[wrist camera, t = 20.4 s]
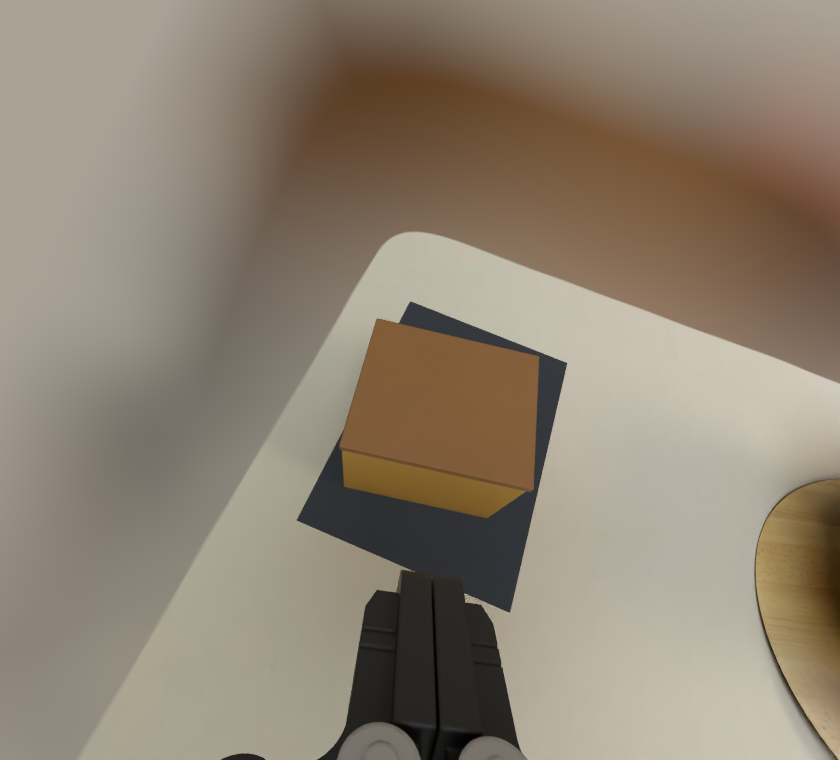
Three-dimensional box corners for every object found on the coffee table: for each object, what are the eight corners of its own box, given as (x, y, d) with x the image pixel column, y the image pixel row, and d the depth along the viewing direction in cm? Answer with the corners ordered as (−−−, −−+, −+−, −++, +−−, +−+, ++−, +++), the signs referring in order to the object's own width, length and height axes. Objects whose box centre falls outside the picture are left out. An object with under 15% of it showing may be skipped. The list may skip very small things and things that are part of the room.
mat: (297, 520, 30) (296, 520, 30) (410, 302, 41) (410, 301, 40) (509, 612, 29) (509, 612, 29) (566, 363, 40) (567, 363, 40)
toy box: (488, 520, 31) (534, 490, 24) (341, 488, 31) (338, 446, 23) (498, 411, 36) (539, 356, 28) (371, 382, 36) (376, 317, 28)
